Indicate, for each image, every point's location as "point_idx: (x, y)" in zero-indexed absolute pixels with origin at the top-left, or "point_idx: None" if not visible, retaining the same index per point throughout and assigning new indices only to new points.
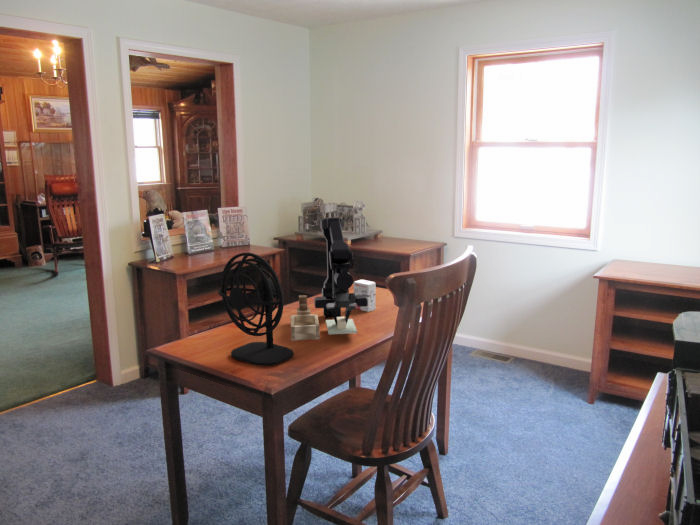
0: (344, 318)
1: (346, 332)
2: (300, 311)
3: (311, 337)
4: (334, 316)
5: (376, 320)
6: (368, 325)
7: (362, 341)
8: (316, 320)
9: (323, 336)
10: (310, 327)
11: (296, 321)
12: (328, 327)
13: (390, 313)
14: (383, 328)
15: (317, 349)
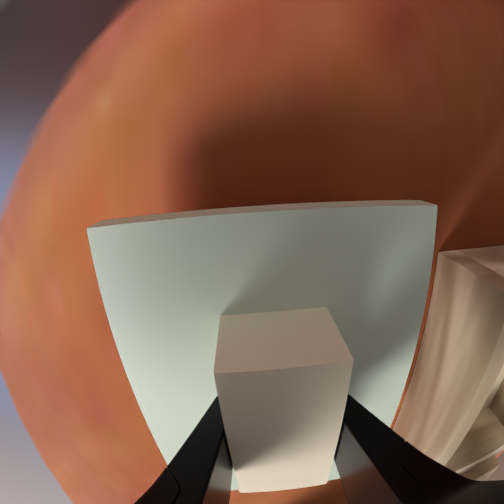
0: (238, 462)
1: (219, 210)
2: (481, 479)
3: (488, 252)
4: (397, 448)
5: (92, 476)
6: (106, 448)
7: (87, 173)
8: (471, 417)
9: None
10: None
11: (491, 425)
12: (410, 341)
13: (72, 498)
14: (27, 397)
15: (451, 42)
